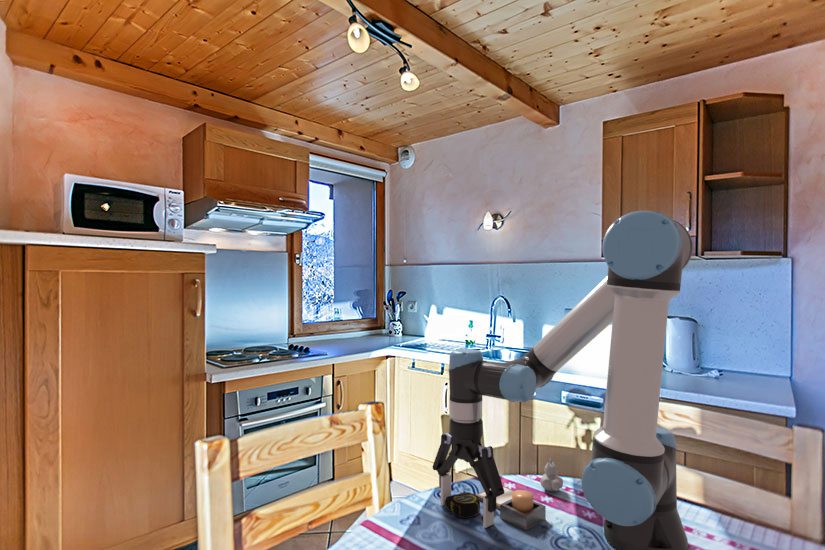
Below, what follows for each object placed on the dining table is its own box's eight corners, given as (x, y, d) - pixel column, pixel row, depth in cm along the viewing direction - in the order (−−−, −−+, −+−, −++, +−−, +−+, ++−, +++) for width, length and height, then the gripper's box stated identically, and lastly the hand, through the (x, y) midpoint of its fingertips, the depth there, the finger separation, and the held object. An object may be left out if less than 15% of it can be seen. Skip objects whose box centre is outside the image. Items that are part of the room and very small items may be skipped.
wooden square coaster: (528, 499, 111) (528, 496, 111) (505, 512, 105) (505, 508, 105) (499, 487, 118) (499, 483, 118) (475, 498, 112) (475, 494, 112)
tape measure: (470, 504, 109) (470, 488, 110) (486, 517, 103) (485, 500, 103) (444, 510, 107) (444, 493, 107) (459, 524, 100) (459, 506, 101)
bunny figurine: (556, 484, 120) (556, 453, 120) (568, 496, 113) (568, 463, 113) (536, 486, 119) (536, 454, 119) (547, 497, 112) (547, 464, 112)
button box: (545, 519, 102) (545, 505, 102) (526, 530, 97) (526, 516, 97) (519, 508, 107) (519, 495, 107) (500, 518, 103) (500, 504, 103)
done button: (537, 508, 102) (537, 495, 102) (525, 515, 99) (525, 501, 99) (520, 501, 106) (520, 488, 106) (507, 507, 103) (507, 494, 103)
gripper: (520, 427, 98) (521, 529, 97) (440, 404, 116) (440, 490, 116) (498, 435, 93) (498, 542, 93) (417, 410, 112) (418, 499, 111)
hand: (466, 513), depth 104 cm, fingers open, 12 cm apart
